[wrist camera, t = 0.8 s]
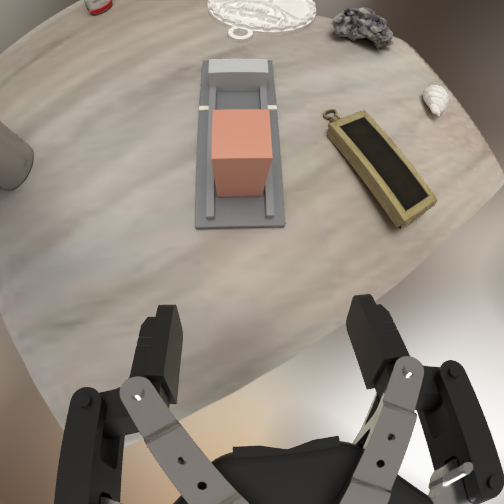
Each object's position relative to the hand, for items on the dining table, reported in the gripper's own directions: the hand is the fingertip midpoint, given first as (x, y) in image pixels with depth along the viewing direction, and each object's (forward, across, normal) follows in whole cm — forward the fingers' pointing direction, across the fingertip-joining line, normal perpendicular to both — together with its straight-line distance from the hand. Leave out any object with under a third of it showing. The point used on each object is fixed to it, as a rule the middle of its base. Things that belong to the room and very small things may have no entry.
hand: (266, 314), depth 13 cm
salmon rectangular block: (+31, 0, +6) cm, 31 cm away
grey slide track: (+37, 0, +1) cm, 37 cm away
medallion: (+61, -5, -23) cm, 66 cm away
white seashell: (+44, -38, -5) cm, 58 cm away
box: (+34, -20, +5) cm, 40 cm away
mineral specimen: (+56, -26, -18) cm, 64 cm away
